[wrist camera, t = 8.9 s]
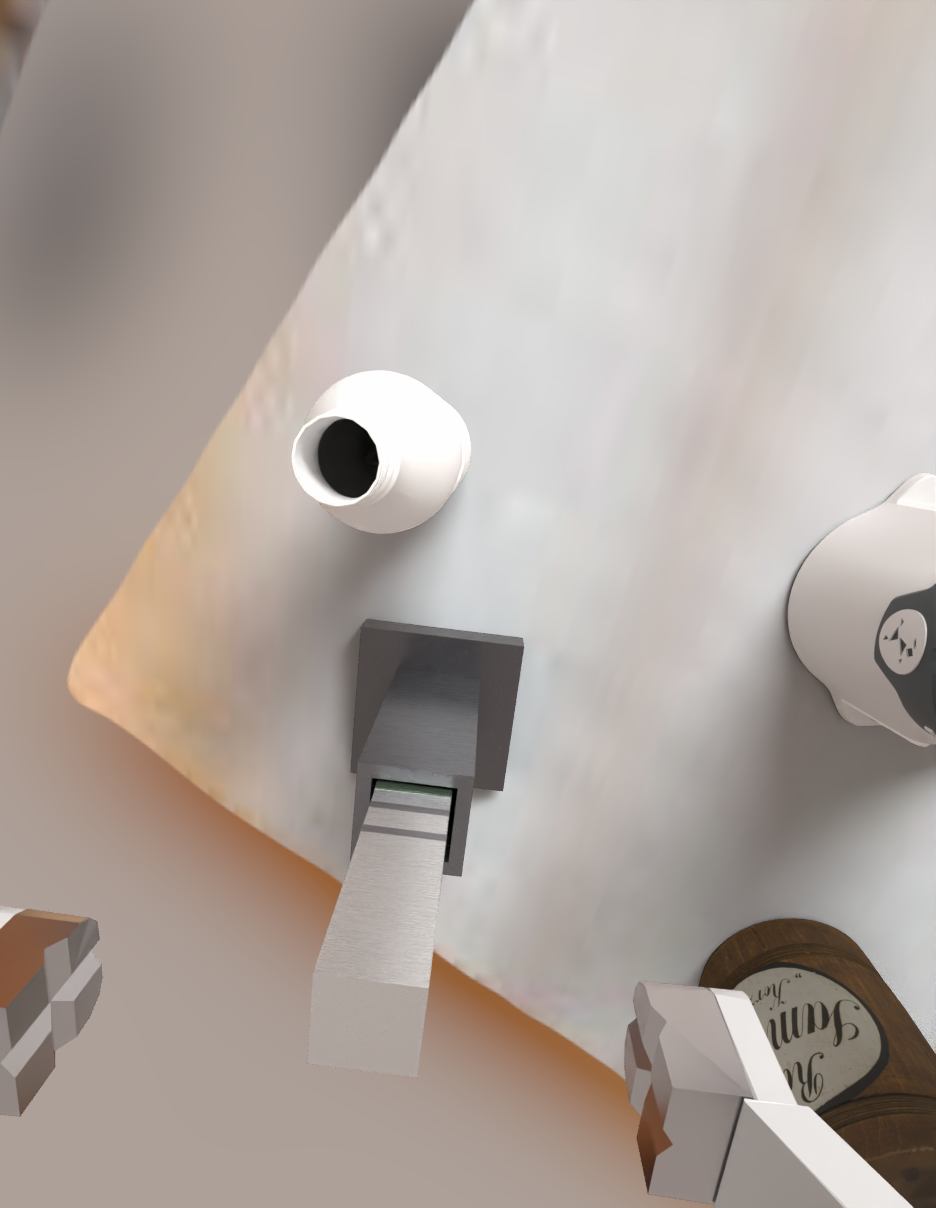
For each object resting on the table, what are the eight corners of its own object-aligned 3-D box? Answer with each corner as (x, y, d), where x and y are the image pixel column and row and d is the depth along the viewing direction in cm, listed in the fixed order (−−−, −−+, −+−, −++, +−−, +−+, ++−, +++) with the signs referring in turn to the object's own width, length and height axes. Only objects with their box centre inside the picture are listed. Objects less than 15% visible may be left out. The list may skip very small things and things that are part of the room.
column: (459, 727, 41) (429, 987, 21) (452, 782, 42) (418, 1078, 22) (398, 719, 41) (312, 973, 21) (392, 774, 42) (306, 1064, 22)
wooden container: (764, 887, 52) (950, 1194, 31) (906, 964, 54) (1176, 1309, 32) (663, 1007, 56) (768, 1356, 35) (798, 1077, 57) (979, 1453, 36)
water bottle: (447, 516, 45) (395, 604, 21) (356, 474, 45) (197, 514, 21) (489, 423, 44) (484, 402, 19) (395, 378, 43) (270, 299, 19)
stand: (522, 637, 47) (537, 738, 31) (502, 777, 51) (506, 934, 35) (366, 619, 48) (302, 710, 32) (355, 759, 51) (292, 907, 35)
